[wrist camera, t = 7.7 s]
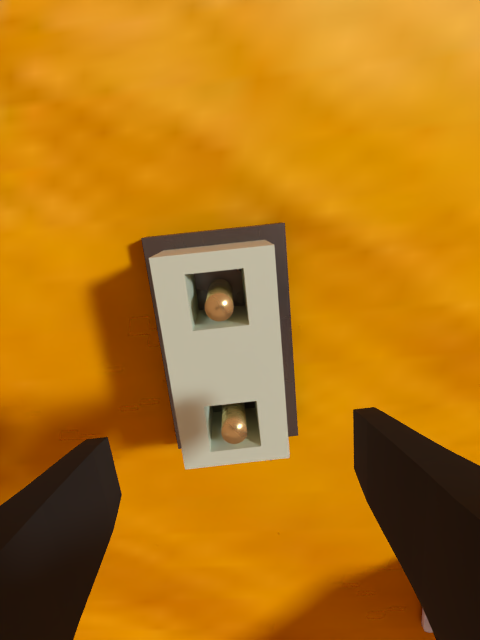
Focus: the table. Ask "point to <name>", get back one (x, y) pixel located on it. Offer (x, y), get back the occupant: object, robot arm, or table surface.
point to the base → (218, 302)
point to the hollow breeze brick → (223, 353)
